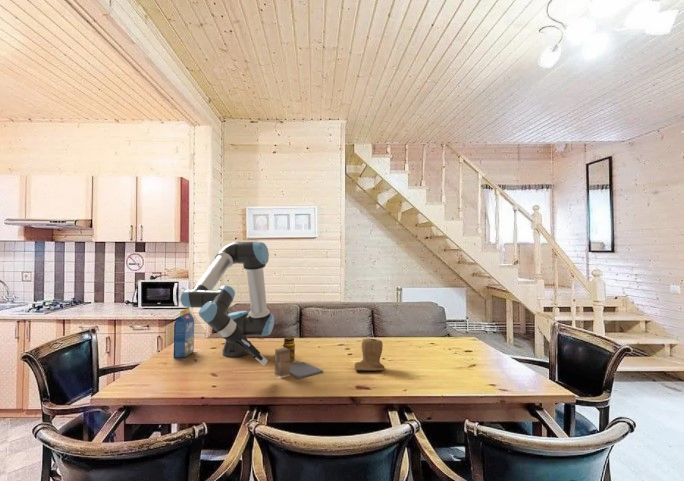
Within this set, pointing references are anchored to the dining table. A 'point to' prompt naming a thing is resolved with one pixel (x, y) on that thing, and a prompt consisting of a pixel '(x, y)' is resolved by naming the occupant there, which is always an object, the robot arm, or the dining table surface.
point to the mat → (303, 370)
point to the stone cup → (370, 355)
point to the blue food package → (184, 335)
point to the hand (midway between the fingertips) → (265, 362)
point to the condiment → (290, 347)
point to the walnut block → (282, 362)
